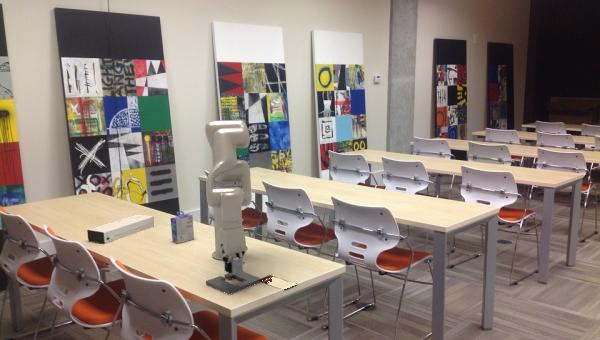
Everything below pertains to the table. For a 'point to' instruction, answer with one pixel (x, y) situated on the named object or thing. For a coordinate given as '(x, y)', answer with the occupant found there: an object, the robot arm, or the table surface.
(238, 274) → the frame
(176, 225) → the ink cartridge box
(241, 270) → the servo
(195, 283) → the table surface
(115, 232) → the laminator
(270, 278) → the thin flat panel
